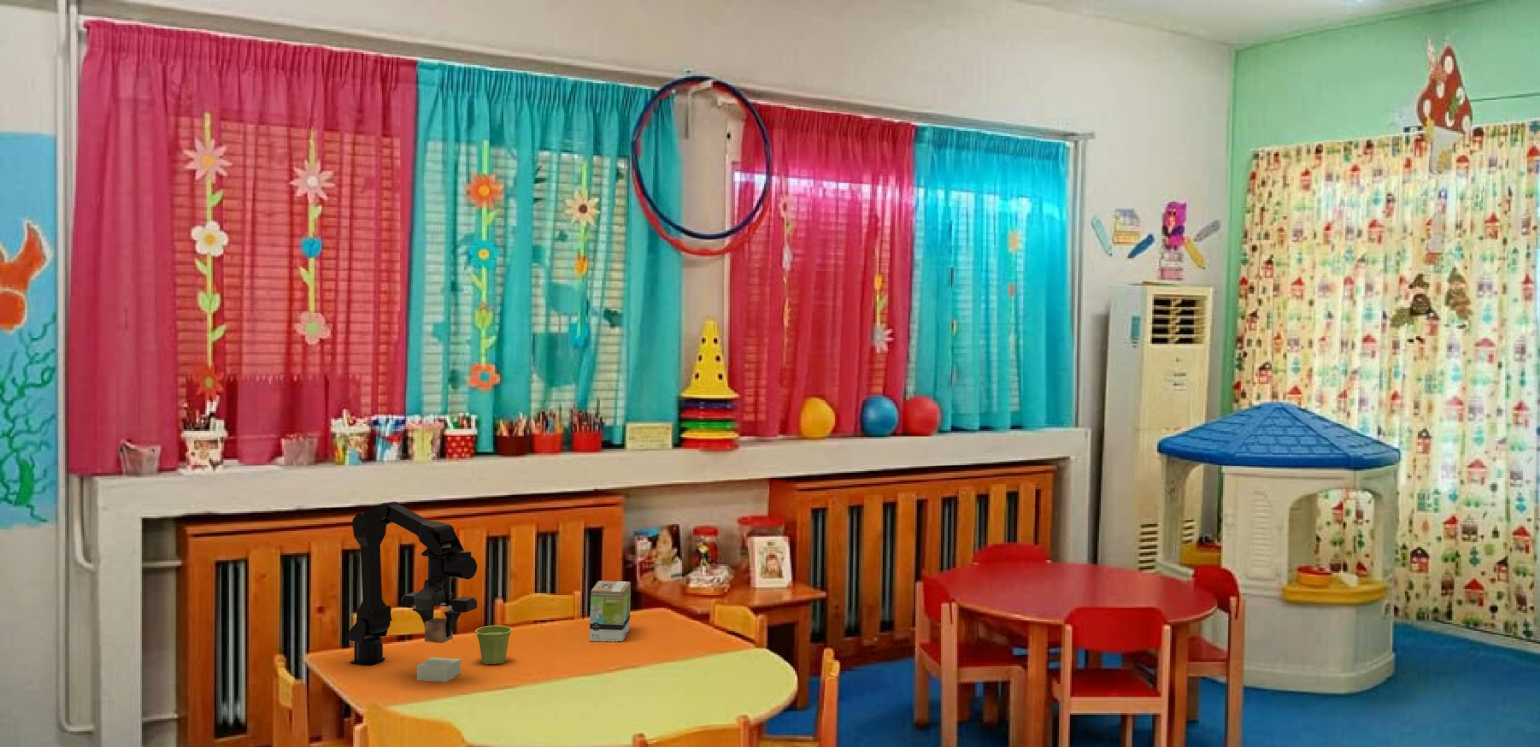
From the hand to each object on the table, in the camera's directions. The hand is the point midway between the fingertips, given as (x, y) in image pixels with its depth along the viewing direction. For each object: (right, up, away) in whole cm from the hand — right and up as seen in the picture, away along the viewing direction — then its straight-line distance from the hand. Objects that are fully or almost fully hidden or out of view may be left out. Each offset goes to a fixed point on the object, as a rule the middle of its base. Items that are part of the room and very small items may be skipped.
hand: (438, 636), depth 324 cm
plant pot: (+11, -10, +15) cm, 21 cm away
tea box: (+38, -10, +45) cm, 60 cm away
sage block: (0, -11, 0) cm, 11 cm away
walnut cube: (0, -1, 0) cm, 1 cm away
